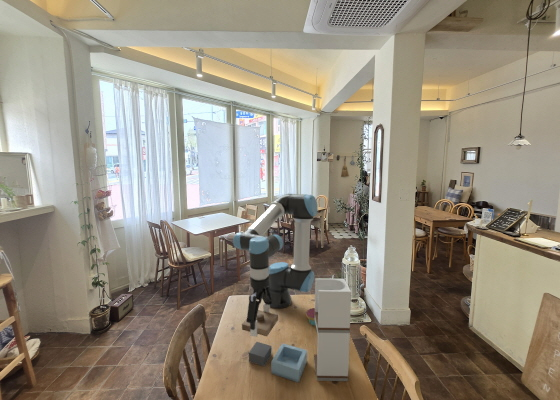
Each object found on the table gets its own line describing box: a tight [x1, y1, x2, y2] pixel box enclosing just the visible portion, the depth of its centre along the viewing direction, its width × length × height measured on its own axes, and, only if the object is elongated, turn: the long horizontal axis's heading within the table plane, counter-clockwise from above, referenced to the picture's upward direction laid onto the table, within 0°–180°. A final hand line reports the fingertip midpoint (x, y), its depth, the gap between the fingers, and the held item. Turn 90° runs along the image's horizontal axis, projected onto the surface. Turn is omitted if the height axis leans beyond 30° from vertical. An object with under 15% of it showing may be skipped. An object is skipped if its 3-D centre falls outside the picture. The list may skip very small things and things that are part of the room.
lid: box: [241, 309, 279, 337], centre depth 101 cm, size 11×11×4 cm
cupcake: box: [305, 307, 316, 326], centre depth 126 cm, size 9×8×12 cm
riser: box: [248, 341, 272, 367], centre depth 102 cm, size 7×7×4 cm
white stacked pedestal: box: [313, 277, 352, 382], centre depth 95 cm, size 11×11×35 cm
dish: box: [270, 342, 308, 384], centre depth 97 cm, size 11×11×5 cm
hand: (260, 326), depth 101 cm, fingers closed on lid, 11 cm apart
